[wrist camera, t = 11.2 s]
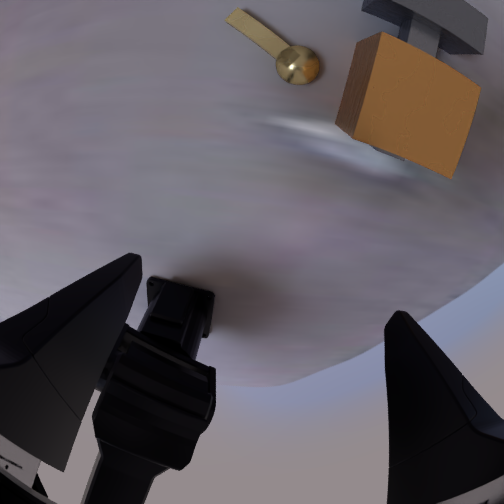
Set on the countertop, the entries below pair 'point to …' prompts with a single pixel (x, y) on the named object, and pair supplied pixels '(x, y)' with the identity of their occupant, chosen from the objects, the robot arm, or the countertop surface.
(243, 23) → the brass measuring spoon
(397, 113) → the wooden u-channel block
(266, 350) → the countertop surface
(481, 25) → the hammer
